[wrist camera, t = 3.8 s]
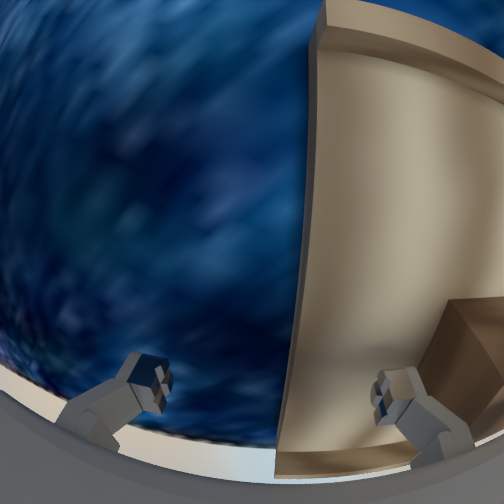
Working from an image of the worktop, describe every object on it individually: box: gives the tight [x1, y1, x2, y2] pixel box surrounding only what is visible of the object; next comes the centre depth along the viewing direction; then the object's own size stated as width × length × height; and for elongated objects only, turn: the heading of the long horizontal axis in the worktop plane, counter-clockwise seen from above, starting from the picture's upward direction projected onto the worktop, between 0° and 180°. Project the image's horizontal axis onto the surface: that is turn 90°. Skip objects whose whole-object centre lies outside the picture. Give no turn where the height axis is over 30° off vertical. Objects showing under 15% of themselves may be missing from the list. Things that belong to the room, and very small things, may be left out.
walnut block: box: [417, 296, 504, 443], centre depth 8 cm, size 5×5×5 cm
